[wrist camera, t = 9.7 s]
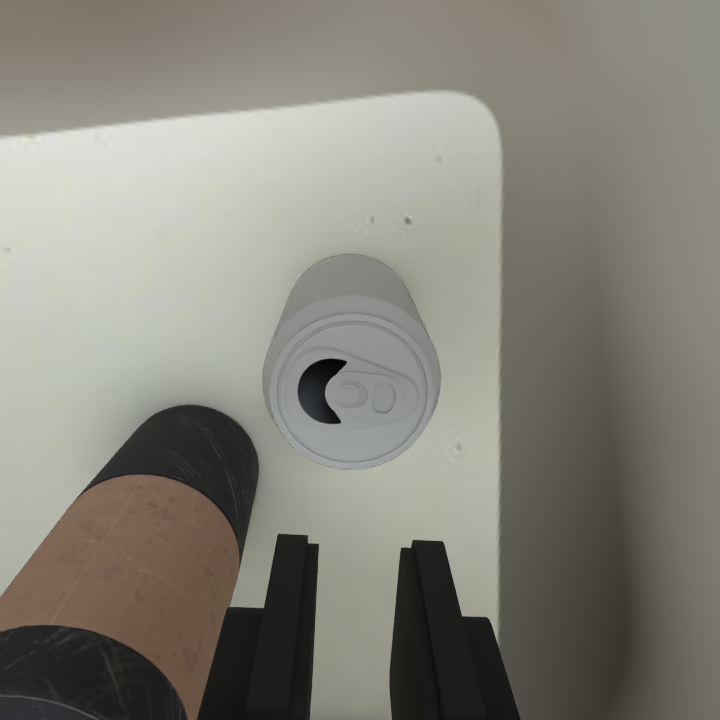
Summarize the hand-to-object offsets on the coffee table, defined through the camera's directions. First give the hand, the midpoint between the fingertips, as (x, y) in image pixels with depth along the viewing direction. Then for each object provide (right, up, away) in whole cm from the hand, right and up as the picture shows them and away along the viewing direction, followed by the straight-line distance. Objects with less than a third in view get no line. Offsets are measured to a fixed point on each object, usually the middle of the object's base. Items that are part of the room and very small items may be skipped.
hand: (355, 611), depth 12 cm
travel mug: (-9, -1, +25) cm, 26 cm away
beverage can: (0, +7, +22) cm, 23 cm away
